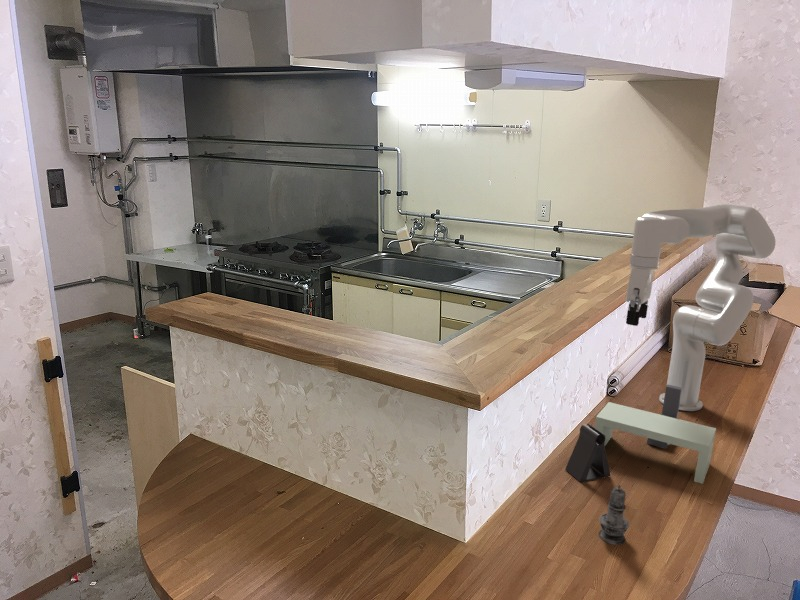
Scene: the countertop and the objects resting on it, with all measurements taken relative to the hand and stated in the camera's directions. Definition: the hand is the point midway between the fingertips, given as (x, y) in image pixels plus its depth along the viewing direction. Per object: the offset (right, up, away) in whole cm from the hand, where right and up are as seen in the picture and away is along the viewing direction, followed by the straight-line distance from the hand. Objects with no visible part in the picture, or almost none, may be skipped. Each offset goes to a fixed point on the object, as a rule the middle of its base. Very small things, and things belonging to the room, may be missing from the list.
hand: (636, 321), depth 183 cm
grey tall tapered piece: (-23, -43, -49) cm, 69 cm away
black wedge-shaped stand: (-21, -37, -24) cm, 49 cm away
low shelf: (-2, -35, -15) cm, 38 cm away
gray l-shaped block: (+7, -32, -1) cm, 33 cm away
